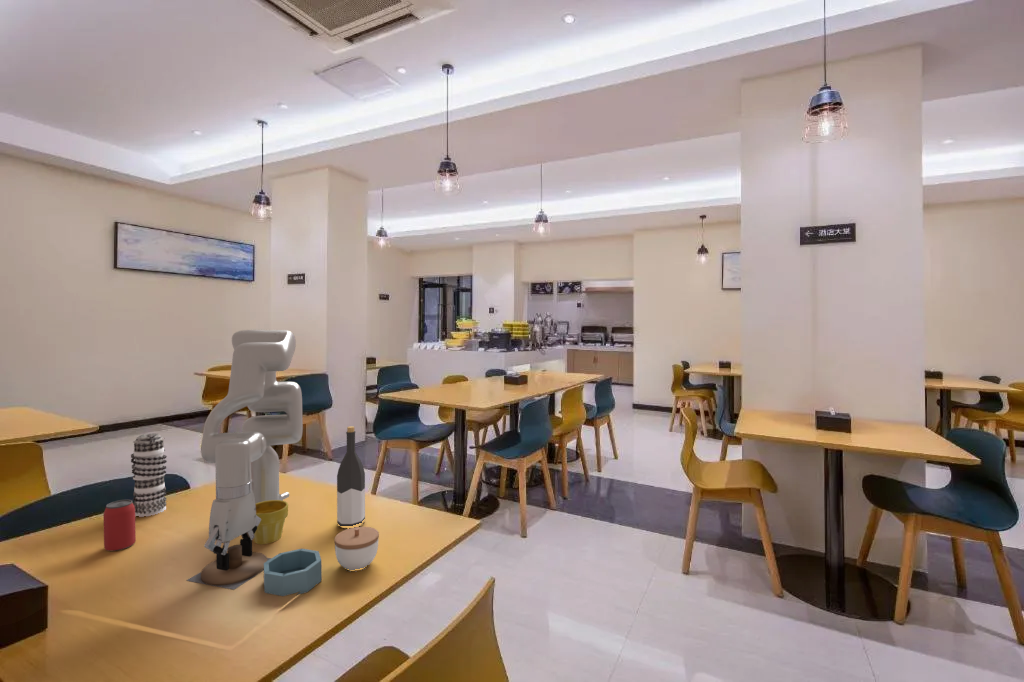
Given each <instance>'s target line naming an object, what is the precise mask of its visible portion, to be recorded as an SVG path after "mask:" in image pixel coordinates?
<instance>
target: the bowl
mask: <svg viewBox="0 0 1024 682" xmlns="http://www.w3.org/2000/svg"><path fill="white" fill-rule="evenodd" d="M270 558H271V559H270V560H268V561H267V562H265V563H264V571H263V589H264V593H265V594H270V595H274V596H281V597H285V596H288V595H292V594H296V595H302V594H306V593H308V592H309V591H311V590H312V589H313V588H315V585H316V584H317V585H318V584H319V583H320V582H322V581H321V580H322V576H323V575H322V572H323V571H322V570H323V569H322V568H323V567H322V557H321V555H320V552H319V550H313V549H308V548H298V549H294V550H289V551H284V552H279V553H278V554H276V555H275V556H273V557H270ZM317 585H316V586H317Z"/></svg>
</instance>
